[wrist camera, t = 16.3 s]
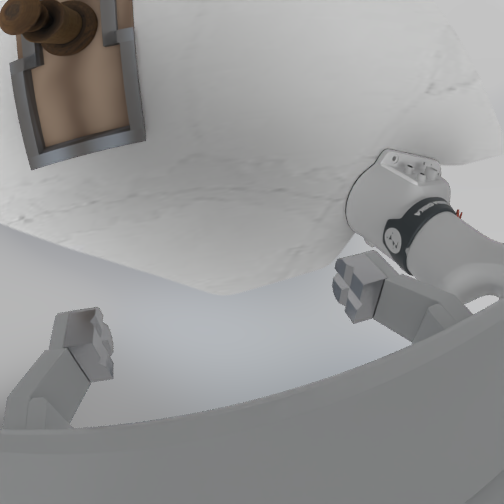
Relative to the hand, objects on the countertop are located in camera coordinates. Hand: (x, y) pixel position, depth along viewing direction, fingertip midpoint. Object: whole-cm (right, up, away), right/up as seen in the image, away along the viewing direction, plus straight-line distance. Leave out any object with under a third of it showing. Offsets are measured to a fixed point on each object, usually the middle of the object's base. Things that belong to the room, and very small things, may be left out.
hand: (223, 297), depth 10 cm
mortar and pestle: (-19, +26, +14) cm, 35 cm away
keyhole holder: (-19, +23, +17) cm, 34 cm away
